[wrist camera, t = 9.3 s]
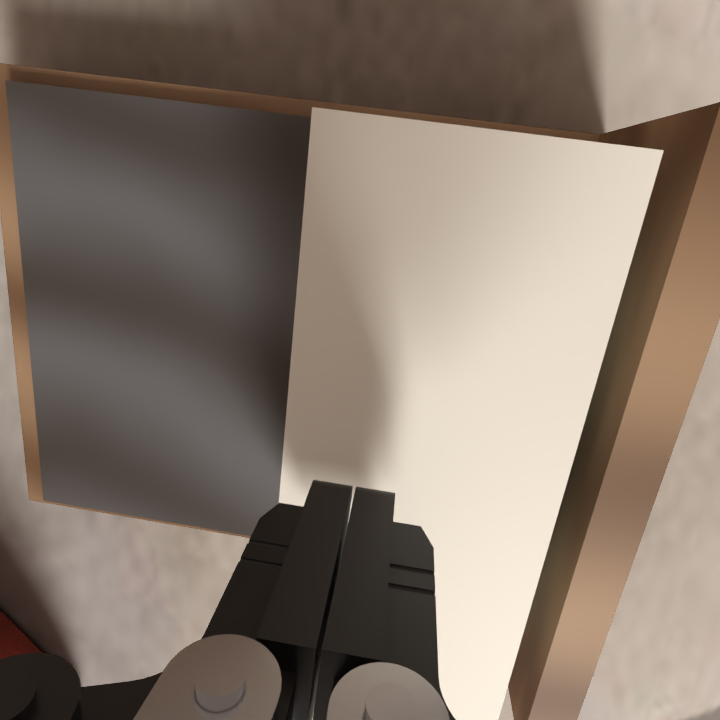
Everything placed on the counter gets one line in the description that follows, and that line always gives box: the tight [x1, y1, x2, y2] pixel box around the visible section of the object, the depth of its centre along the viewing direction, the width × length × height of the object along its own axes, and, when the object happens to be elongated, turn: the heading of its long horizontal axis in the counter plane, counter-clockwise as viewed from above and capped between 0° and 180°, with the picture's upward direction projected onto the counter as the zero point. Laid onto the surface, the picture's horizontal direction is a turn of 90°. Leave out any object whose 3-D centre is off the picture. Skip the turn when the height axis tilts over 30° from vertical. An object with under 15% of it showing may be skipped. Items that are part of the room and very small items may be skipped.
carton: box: [279, 107, 664, 720], centre depth 14 cm, size 14×8×6 cm
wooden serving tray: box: [0, 63, 720, 720], centre depth 17 cm, size 16×20×10 cm
